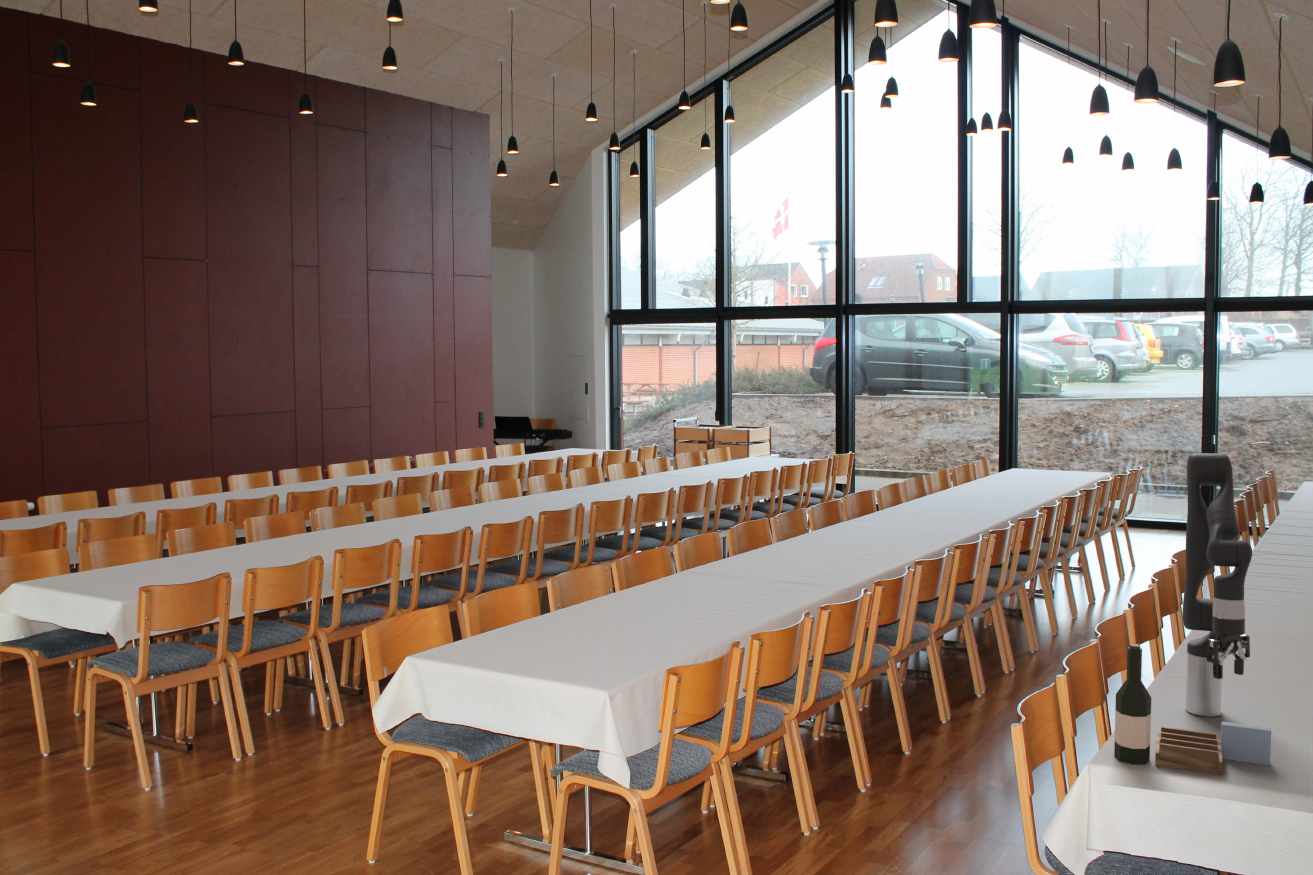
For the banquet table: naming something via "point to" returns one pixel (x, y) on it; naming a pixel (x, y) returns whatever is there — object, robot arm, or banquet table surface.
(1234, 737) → the light blue flat block
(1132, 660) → the wine bottle
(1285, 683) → the banquet table surface
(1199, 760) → the rack
